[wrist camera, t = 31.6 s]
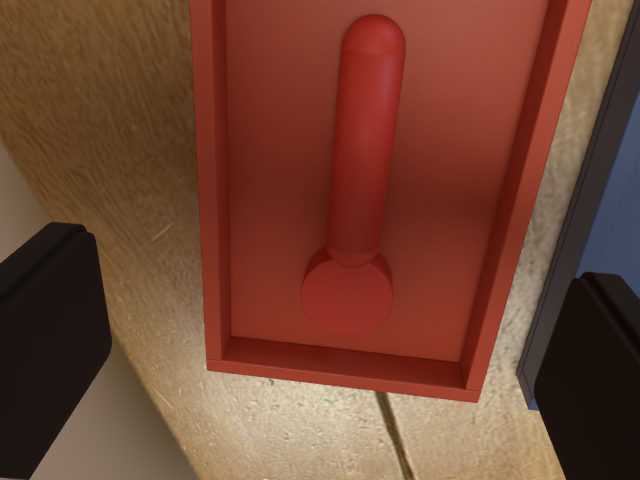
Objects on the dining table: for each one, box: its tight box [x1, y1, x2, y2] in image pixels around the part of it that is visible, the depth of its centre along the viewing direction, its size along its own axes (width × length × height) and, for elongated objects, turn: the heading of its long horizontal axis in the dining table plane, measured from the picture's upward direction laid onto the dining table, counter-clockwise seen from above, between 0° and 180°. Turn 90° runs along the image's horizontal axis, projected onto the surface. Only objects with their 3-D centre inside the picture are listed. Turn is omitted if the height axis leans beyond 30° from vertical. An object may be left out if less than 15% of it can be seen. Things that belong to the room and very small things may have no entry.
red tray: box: [189, 0, 592, 403], centre depth 17 cm, size 15×10×2 cm
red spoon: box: [301, 14, 406, 335], centre depth 16 cm, size 11×3×2 cm, turn 176°
